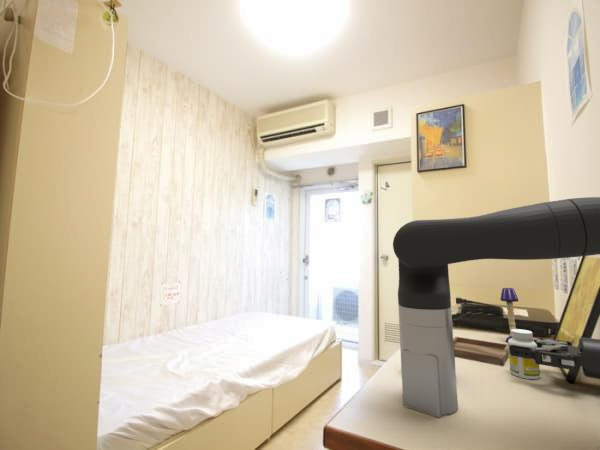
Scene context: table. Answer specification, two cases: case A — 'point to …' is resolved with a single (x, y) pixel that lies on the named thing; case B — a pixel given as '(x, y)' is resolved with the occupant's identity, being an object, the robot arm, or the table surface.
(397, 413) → the table surface
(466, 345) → the tray
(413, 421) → the table surface
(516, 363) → the supplement bottle
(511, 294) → the toy lamp
